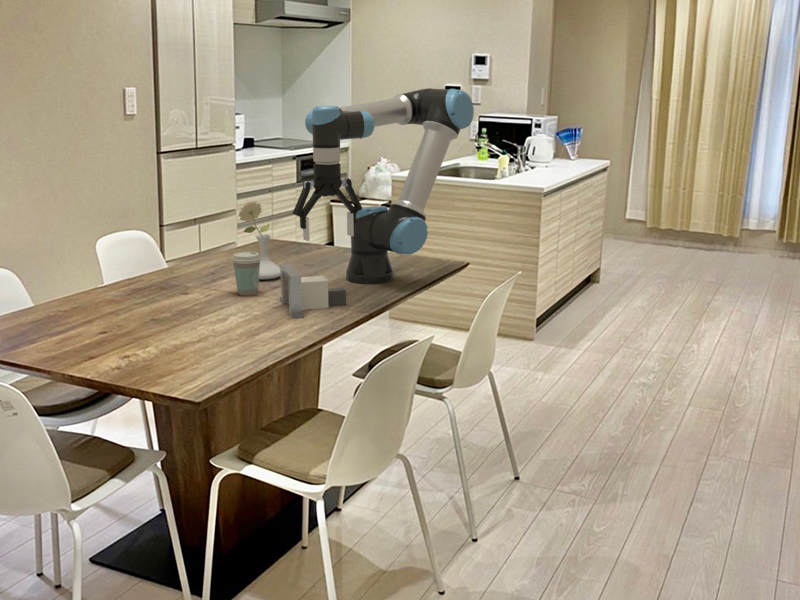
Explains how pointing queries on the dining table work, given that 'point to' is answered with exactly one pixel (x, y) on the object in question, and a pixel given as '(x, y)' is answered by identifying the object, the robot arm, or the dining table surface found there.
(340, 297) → the plug
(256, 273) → the coffee cup
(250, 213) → the flower in vase
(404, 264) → the dining table surface
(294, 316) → the bar
